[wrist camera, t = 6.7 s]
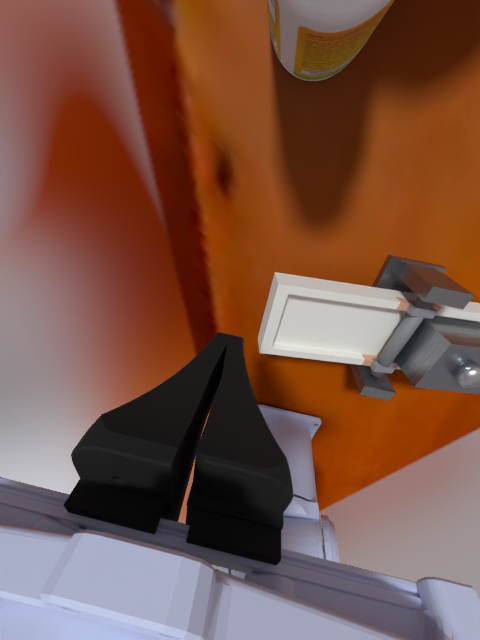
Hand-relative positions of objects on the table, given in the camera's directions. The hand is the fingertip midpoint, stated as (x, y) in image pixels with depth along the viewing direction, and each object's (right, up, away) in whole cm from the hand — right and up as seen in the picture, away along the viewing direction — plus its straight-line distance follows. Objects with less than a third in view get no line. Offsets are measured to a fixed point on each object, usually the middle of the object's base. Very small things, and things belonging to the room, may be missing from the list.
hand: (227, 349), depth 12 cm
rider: (+16, 0, +6) cm, 17 cm away
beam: (+12, +1, +7) cm, 14 cm away
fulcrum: (+13, +2, +8) cm, 16 cm away
